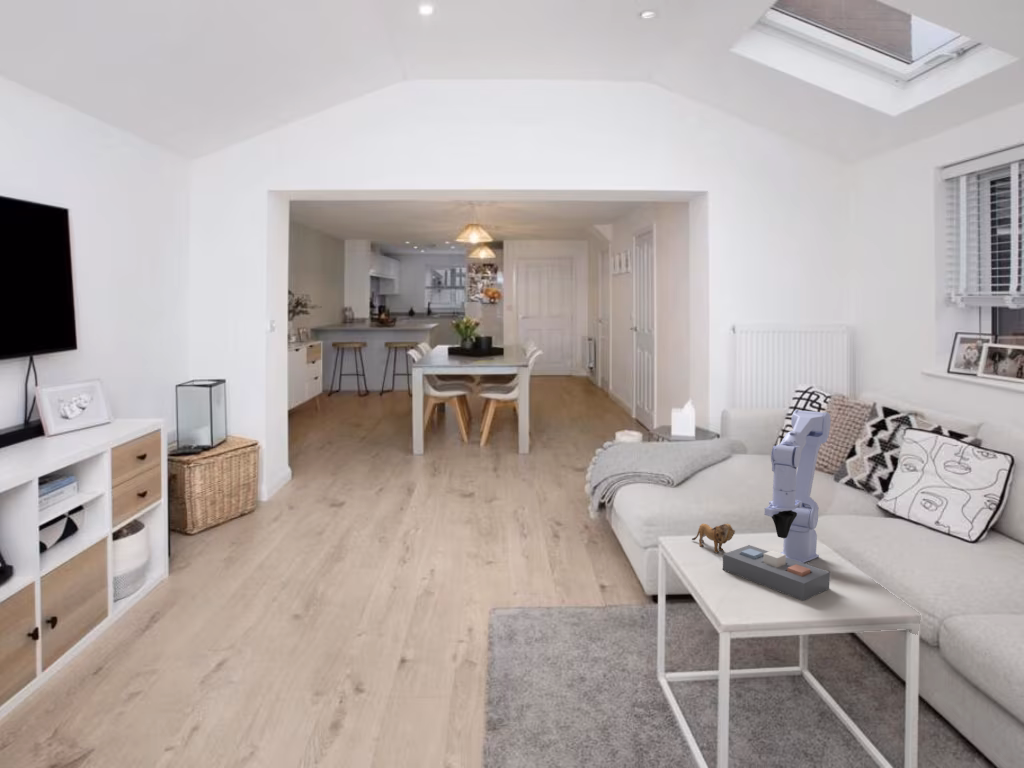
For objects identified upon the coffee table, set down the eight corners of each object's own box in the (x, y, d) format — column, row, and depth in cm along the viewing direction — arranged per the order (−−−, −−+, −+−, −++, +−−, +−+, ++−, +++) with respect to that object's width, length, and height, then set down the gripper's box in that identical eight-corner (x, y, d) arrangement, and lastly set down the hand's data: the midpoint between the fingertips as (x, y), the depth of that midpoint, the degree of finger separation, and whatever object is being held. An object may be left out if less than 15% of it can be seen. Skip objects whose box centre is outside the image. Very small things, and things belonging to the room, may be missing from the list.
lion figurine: (737, 552, 189) (738, 524, 188) (726, 557, 186) (727, 527, 185) (696, 539, 201) (697, 512, 200) (686, 543, 198) (686, 515, 197)
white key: (772, 560, 173) (772, 550, 173) (785, 565, 170) (785, 554, 170) (763, 564, 171) (763, 553, 171) (776, 568, 168) (777, 558, 167)
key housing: (748, 559, 184) (749, 544, 183) (829, 588, 164) (829, 572, 164) (722, 569, 177) (723, 554, 177) (803, 600, 158) (804, 583, 157)
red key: (795, 575, 168) (796, 564, 167) (810, 580, 164) (810, 569, 164) (787, 578, 165) (787, 567, 165) (801, 583, 162) (801, 572, 162)
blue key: (749, 558, 179) (749, 548, 179) (762, 563, 176) (762, 552, 175) (740, 561, 177) (741, 551, 176) (753, 566, 174) (753, 555, 173)
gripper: (786, 481, 179) (784, 528, 180) (755, 489, 171) (753, 538, 172) (809, 487, 173) (807, 535, 175) (779, 495, 165) (776, 545, 166)
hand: (782, 537), depth 173 cm, fingers closed
